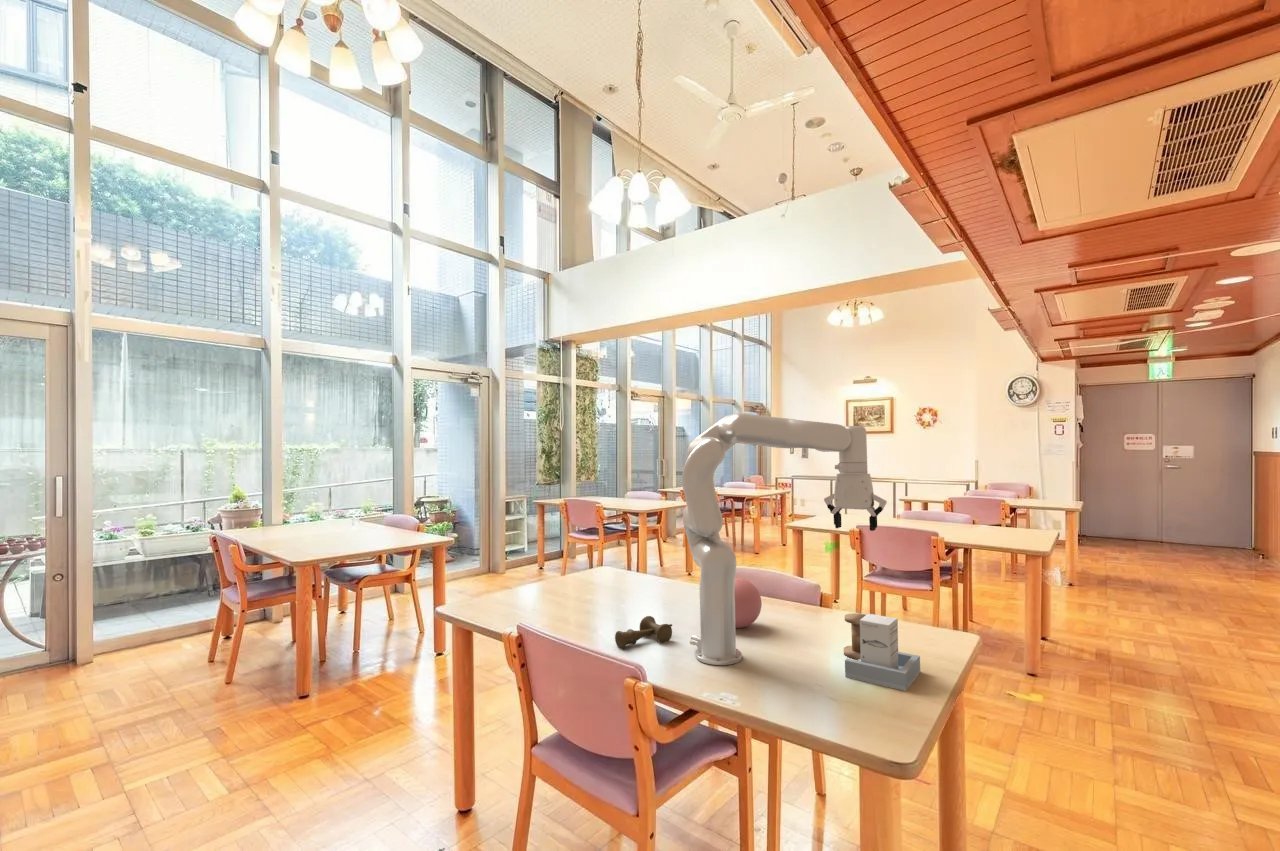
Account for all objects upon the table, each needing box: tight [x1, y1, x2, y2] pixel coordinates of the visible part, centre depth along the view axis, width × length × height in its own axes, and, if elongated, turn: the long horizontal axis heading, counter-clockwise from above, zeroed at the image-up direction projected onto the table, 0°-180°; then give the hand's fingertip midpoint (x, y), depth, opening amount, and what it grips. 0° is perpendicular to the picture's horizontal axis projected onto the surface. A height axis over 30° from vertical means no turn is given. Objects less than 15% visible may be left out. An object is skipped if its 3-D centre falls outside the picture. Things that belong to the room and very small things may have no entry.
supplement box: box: [860, 613, 899, 669], centre depth 143 cm, size 7×7×13 cm
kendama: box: [614, 615, 673, 650], centre depth 170 cm, size 6×10×20 cm
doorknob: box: [843, 612, 867, 660], centre depth 156 cm, size 8×8×10 cm
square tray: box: [844, 651, 921, 692], centre depth 142 cm, size 14×14×4 cm
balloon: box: [735, 577, 763, 629], centre depth 184 cm, size 15×20×15 cm
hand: (855, 528), depth 163 cm, fingers open, 9 cm apart
